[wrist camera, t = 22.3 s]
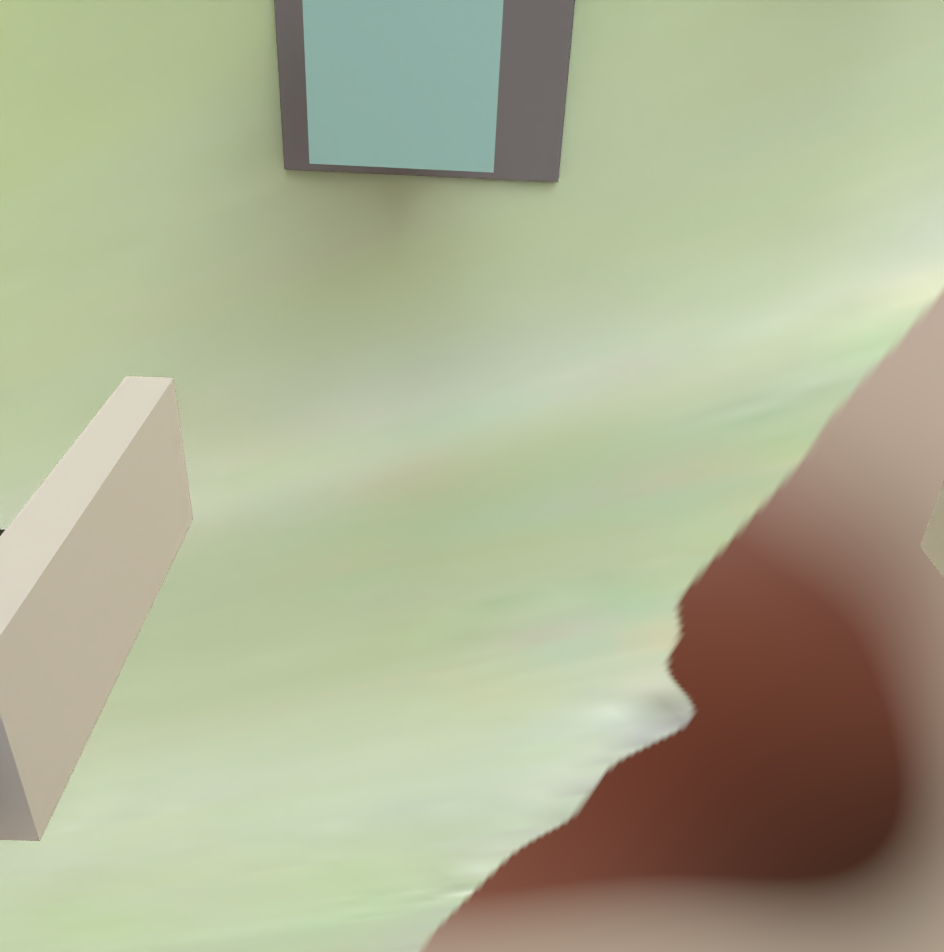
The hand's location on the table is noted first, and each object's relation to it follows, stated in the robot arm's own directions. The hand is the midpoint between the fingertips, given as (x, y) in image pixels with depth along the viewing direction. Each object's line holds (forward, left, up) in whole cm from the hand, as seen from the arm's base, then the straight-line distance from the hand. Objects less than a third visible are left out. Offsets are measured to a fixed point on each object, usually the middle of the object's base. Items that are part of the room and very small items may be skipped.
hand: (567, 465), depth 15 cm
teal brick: (-4, -4, -24) cm, 25 cm away
